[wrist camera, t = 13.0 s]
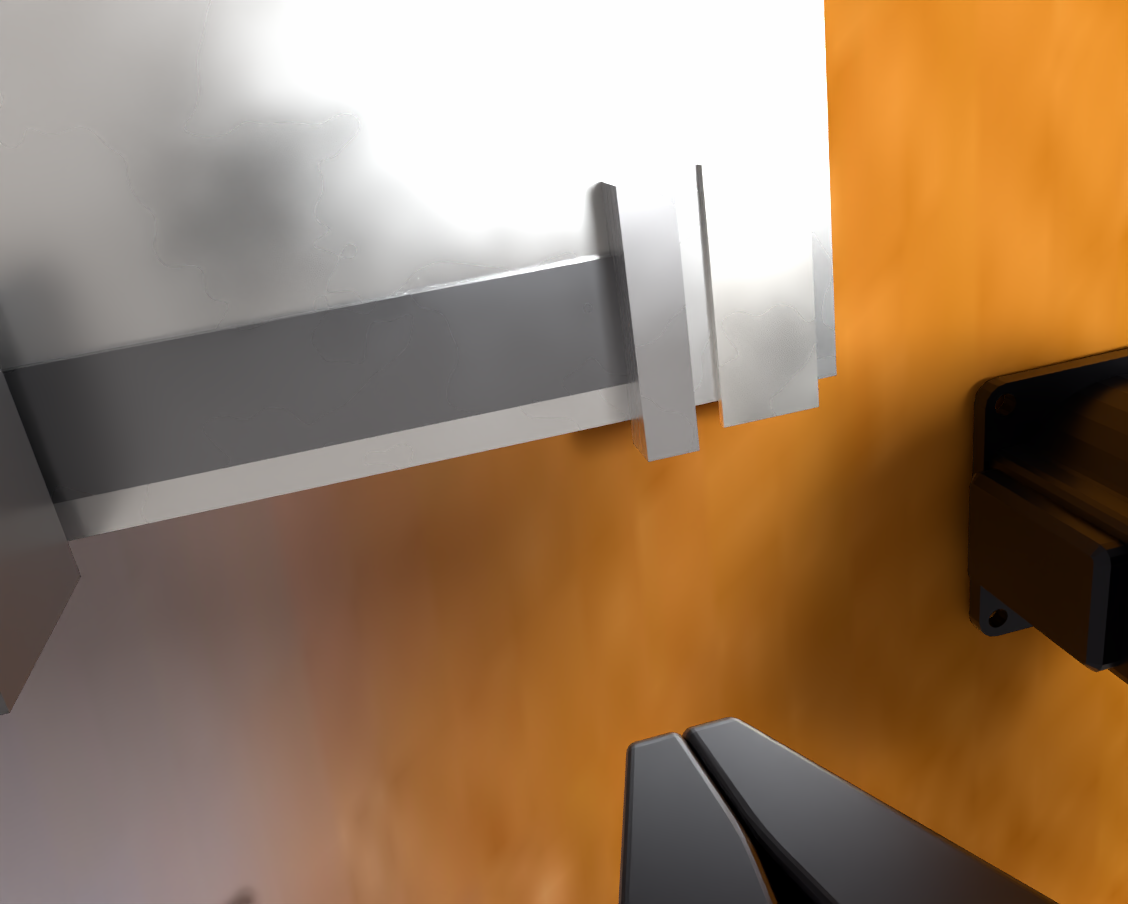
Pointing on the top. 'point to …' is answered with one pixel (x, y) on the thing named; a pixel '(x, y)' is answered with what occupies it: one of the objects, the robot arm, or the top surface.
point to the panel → (399, 234)
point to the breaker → (27, 556)
